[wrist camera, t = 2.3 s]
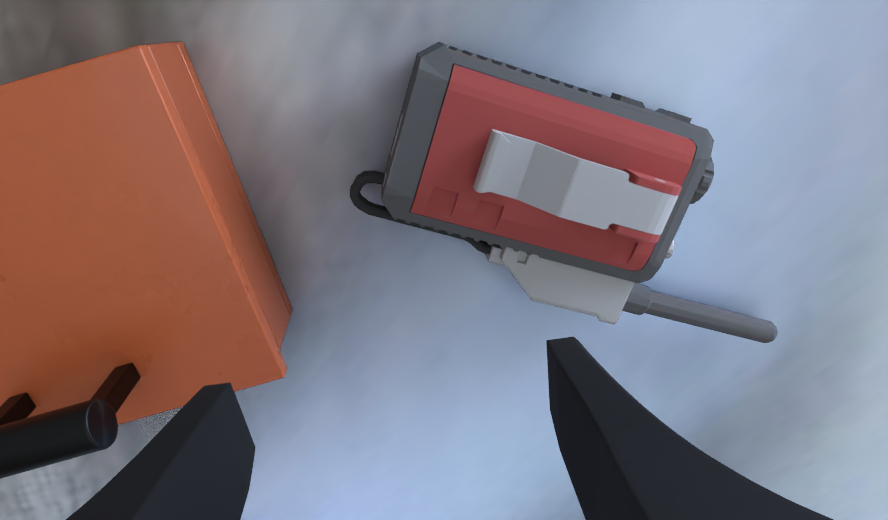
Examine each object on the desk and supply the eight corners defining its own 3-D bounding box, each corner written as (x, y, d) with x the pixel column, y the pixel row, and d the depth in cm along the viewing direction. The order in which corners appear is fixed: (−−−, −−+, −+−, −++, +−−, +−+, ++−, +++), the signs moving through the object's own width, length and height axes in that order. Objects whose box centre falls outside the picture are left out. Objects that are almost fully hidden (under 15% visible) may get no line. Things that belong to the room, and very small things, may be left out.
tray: (293, 309, 26) (280, 350, 23) (-22, 399, 26) (-79, 452, 23) (183, 40, 22) (148, 44, 19) (-193, 149, 22) (-292, 171, 19)
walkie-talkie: (337, 237, 25) (746, 339, 29) (328, 279, 21) (806, 392, 25) (392, 21, 22) (839, 166, 26) (394, 21, 18) (923, 193, 22)
